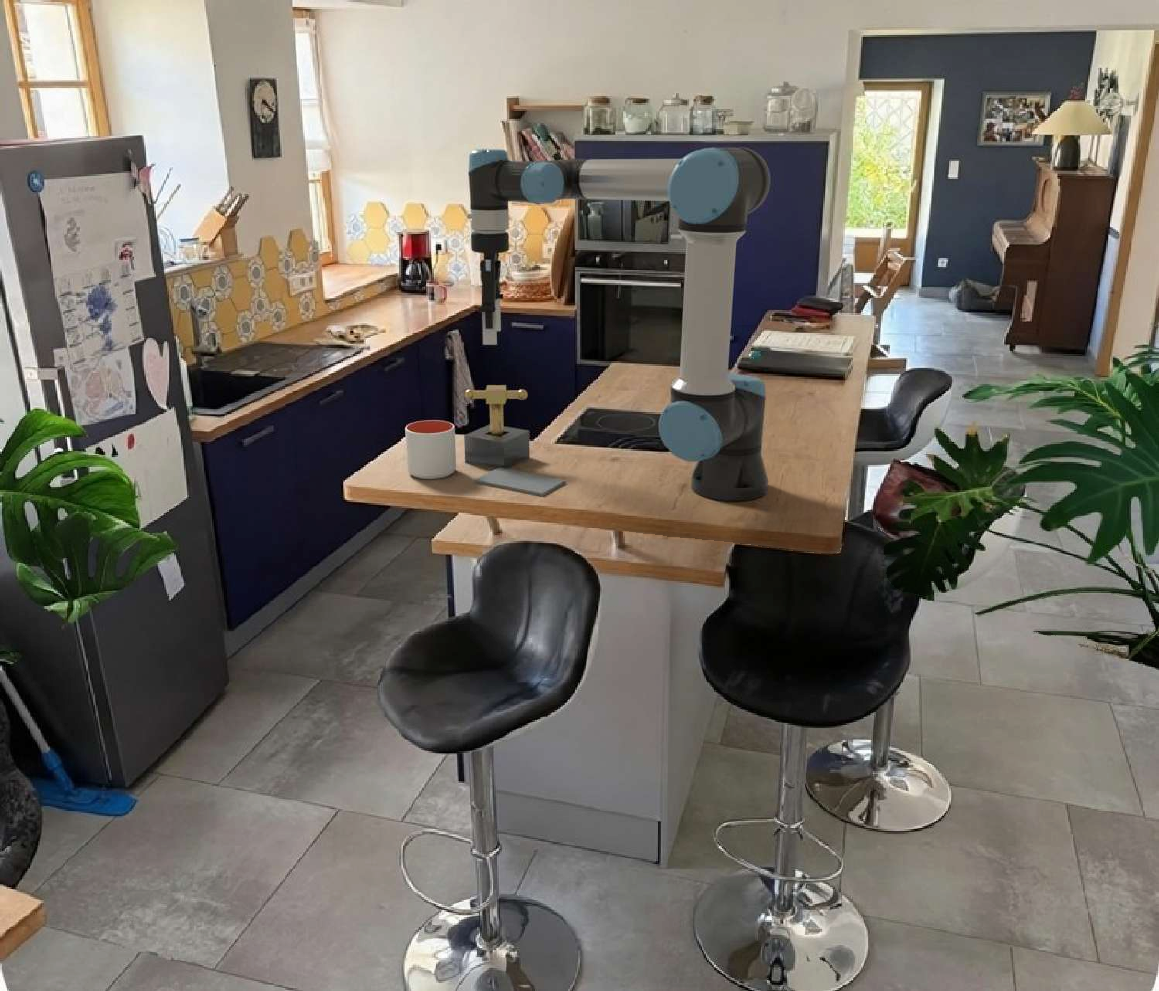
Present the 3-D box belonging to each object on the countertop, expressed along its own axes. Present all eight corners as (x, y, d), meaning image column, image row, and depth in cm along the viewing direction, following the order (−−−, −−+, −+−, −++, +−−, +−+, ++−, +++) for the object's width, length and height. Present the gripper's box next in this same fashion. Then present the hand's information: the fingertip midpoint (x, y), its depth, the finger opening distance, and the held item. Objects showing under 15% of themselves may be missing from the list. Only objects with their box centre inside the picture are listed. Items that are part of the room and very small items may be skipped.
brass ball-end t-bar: (528, 456, 222) (527, 385, 216) (527, 462, 218) (527, 390, 213) (467, 456, 222) (465, 385, 216) (466, 462, 218) (463, 389, 212)
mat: (565, 482, 206) (565, 480, 206) (542, 496, 199) (542, 493, 199) (499, 469, 214) (499, 467, 213) (474, 482, 206) (474, 479, 206)
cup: (447, 482, 206) (445, 435, 203) (400, 479, 208) (397, 432, 205) (462, 467, 215) (460, 421, 212) (417, 463, 217) (415, 418, 214)
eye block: (529, 457, 222) (529, 430, 220) (504, 470, 214) (503, 442, 212) (491, 450, 226) (490, 424, 224) (465, 462, 218) (464, 435, 216)
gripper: (475, 224, 214) (478, 325, 221) (465, 238, 190) (468, 350, 198) (511, 225, 214) (513, 325, 221) (505, 238, 191) (507, 350, 198)
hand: (492, 337), depth 210 cm, fingers open, 13 cm apart
